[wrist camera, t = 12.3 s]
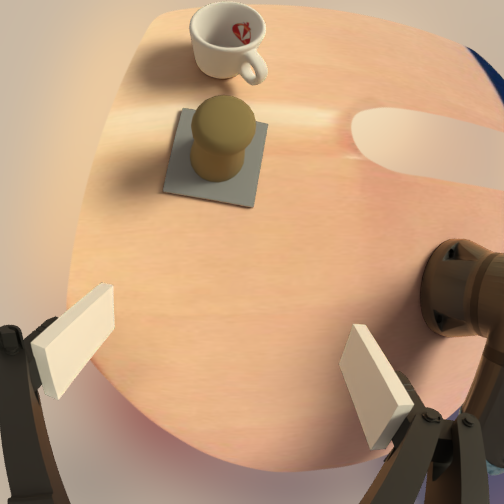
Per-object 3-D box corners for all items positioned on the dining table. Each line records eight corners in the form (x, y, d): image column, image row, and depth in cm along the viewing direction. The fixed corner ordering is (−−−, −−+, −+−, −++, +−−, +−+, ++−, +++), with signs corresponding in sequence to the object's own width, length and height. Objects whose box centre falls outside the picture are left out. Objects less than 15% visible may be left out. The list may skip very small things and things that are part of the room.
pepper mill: (189, 131, 31) (185, 85, 20) (243, 130, 32) (262, 84, 21) (190, 184, 31) (185, 156, 20) (246, 181, 32) (267, 154, 21)
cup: (280, 83, 33) (299, 50, 25) (229, 114, 32) (237, 82, 24) (228, 30, 32) (236, -8, 24) (177, 57, 31) (174, 18, 23)
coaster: (267, 125, 33) (268, 124, 32) (252, 207, 33) (253, 207, 33) (182, 110, 31) (182, 107, 31) (163, 192, 31) (162, 191, 31)
